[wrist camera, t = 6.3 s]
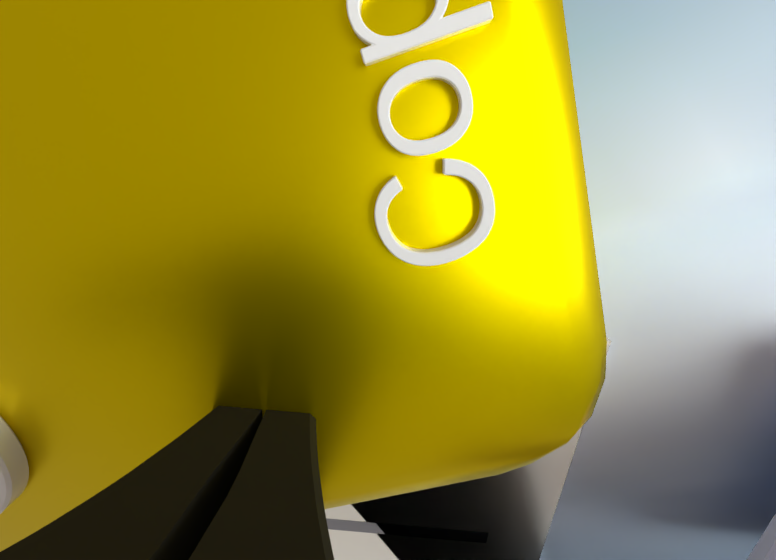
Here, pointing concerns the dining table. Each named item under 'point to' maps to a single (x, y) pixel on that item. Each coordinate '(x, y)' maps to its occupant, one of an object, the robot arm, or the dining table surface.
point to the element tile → (290, 238)
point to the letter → (458, 517)
